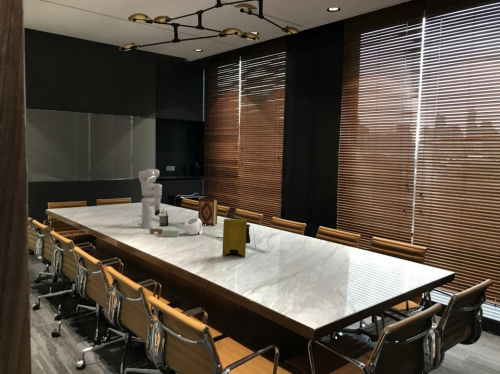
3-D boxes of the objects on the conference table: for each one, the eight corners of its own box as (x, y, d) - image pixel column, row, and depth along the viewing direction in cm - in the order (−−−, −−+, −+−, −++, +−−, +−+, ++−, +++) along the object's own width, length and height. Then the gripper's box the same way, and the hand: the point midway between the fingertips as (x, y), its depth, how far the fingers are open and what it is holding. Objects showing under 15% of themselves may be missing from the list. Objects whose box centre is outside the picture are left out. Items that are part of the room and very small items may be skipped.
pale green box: (162, 236, 364) (162, 229, 363) (164, 234, 374) (164, 227, 373) (177, 237, 365) (177, 229, 364) (178, 235, 375) (179, 227, 374)
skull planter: (208, 231, 388) (203, 215, 380) (195, 243, 375) (189, 227, 367) (199, 229, 397) (193, 214, 389) (185, 241, 384) (179, 225, 375)
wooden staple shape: (149, 234, 371) (149, 229, 371) (150, 233, 376) (150, 228, 376) (161, 234, 372) (162, 229, 372) (162, 233, 377) (162, 228, 377)
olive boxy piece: (254, 253, 316) (256, 217, 314) (255, 258, 302) (257, 220, 300) (216, 252, 315) (217, 215, 313) (215, 256, 301) (216, 218, 299)
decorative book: (196, 223, 440) (197, 197, 438) (200, 223, 447) (201, 197, 445) (213, 226, 430) (214, 199, 427) (216, 225, 437) (218, 199, 434)
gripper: (155, 196, 382) (154, 213, 383) (152, 197, 365) (151, 215, 366) (162, 196, 382) (162, 213, 384) (160, 198, 365) (159, 216, 366)
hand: (157, 214), depth 375 cm, fingers open, 9 cm apart
